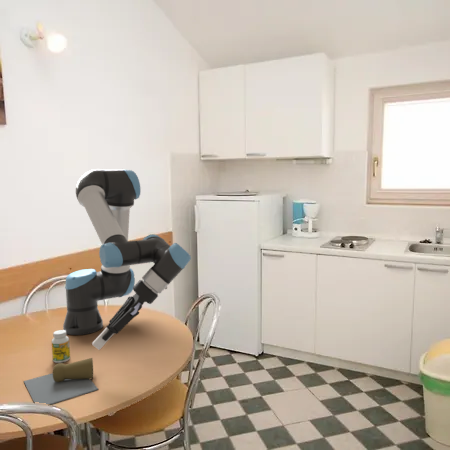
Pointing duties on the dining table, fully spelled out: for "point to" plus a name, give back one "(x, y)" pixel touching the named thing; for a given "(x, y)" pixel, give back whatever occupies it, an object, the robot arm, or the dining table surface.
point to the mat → (57, 388)
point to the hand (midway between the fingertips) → (95, 346)
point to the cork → (73, 370)
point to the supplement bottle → (60, 347)
